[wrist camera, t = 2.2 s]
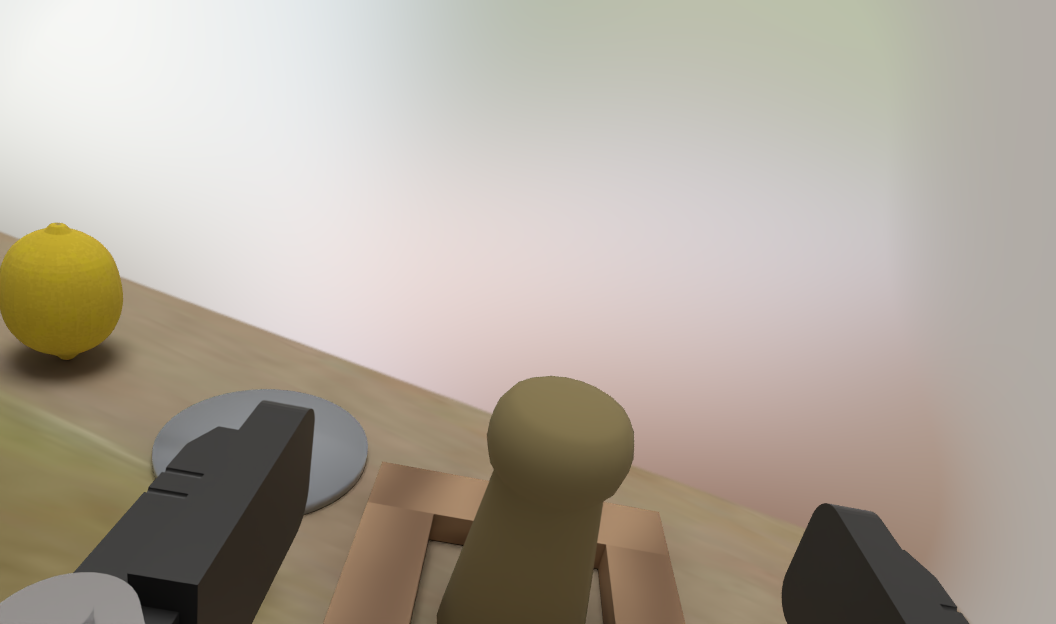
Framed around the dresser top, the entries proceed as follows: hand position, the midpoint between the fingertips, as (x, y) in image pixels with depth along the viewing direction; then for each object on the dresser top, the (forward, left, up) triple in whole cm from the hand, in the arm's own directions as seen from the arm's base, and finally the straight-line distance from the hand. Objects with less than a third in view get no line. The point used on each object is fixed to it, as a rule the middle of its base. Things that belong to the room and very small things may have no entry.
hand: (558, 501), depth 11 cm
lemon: (-24, +25, -16) cm, 38 cm away
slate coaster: (-11, +20, -16) cm, 27 cm away
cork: (+2, +12, -16) cm, 20 cm away
